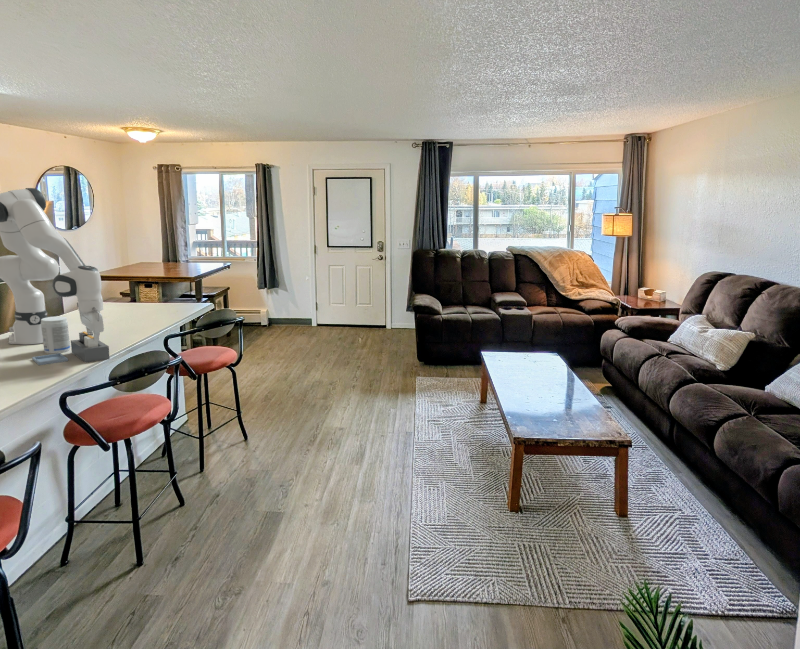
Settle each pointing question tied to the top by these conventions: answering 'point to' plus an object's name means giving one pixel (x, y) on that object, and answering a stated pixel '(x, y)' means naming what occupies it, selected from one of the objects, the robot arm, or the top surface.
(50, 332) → the supplement tub
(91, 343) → the white orange-striped block
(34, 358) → the slate tray
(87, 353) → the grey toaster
